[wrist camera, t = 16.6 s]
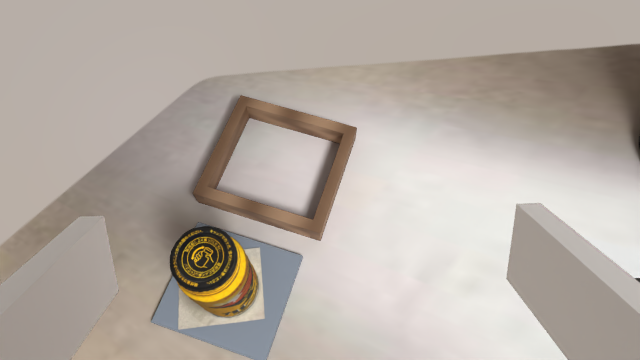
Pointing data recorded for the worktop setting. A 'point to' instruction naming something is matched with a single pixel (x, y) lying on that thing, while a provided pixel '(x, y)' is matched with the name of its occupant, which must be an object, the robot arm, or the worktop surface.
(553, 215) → the robot arm
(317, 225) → the pocket
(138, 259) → the worktop surface
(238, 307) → the condiment
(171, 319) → the mat
